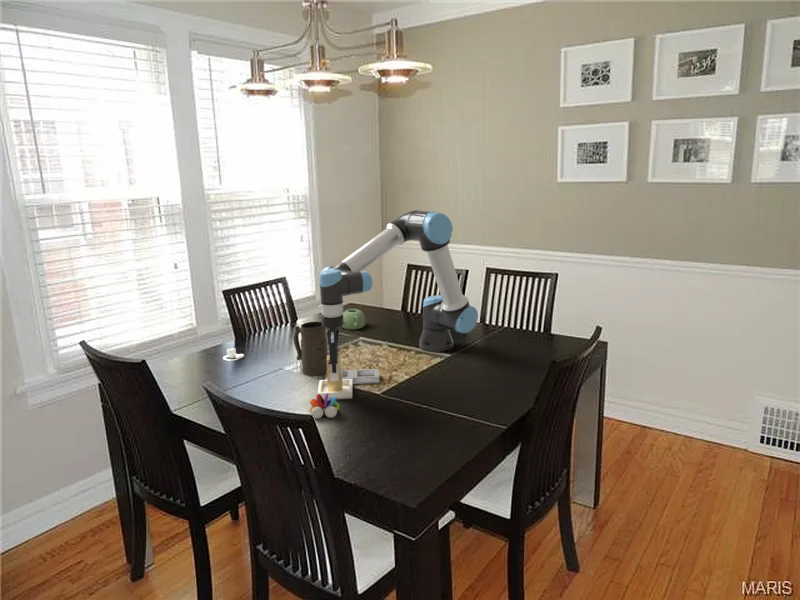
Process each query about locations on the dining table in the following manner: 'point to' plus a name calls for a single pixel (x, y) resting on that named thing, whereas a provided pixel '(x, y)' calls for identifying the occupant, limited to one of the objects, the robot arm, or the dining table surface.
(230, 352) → the white valve handwheel
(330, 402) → the rainbow petal fan toy
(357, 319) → the green dome pot
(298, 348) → the beer stein
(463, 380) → the dining table surface
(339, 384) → the tan knobbed block
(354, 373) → the gray rectangular frame
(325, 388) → the parts tray
